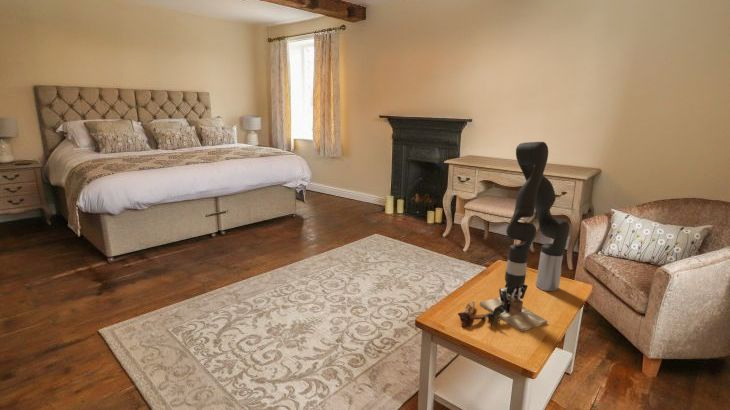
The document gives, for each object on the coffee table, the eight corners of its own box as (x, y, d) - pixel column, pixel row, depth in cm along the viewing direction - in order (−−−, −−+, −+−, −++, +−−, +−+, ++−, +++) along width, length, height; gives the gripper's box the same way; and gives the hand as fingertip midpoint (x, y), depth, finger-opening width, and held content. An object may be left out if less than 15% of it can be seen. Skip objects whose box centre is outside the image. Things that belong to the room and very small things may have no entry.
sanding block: (507, 305, 164) (509, 294, 163) (521, 312, 158) (522, 301, 157) (500, 307, 162) (502, 296, 161) (514, 315, 156) (515, 303, 155)
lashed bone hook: (480, 333, 147) (486, 310, 163) (481, 322, 145) (488, 300, 161) (455, 326, 150) (464, 304, 166) (456, 315, 149) (465, 294, 165)
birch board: (504, 298, 172) (504, 295, 172) (546, 323, 154) (547, 320, 153) (479, 304, 166) (479, 302, 166) (521, 331, 147) (521, 328, 147)
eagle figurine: (507, 327, 148) (509, 312, 155) (498, 312, 147) (500, 298, 154) (488, 331, 152) (491, 317, 159) (479, 317, 151) (482, 303, 158)
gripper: (521, 264, 163) (515, 302, 167) (495, 270, 156) (490, 309, 160) (536, 271, 156) (530, 310, 161) (510, 277, 150) (505, 318, 154)
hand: (510, 309), depth 160 cm, fingers closed on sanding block, 4 cm apart
